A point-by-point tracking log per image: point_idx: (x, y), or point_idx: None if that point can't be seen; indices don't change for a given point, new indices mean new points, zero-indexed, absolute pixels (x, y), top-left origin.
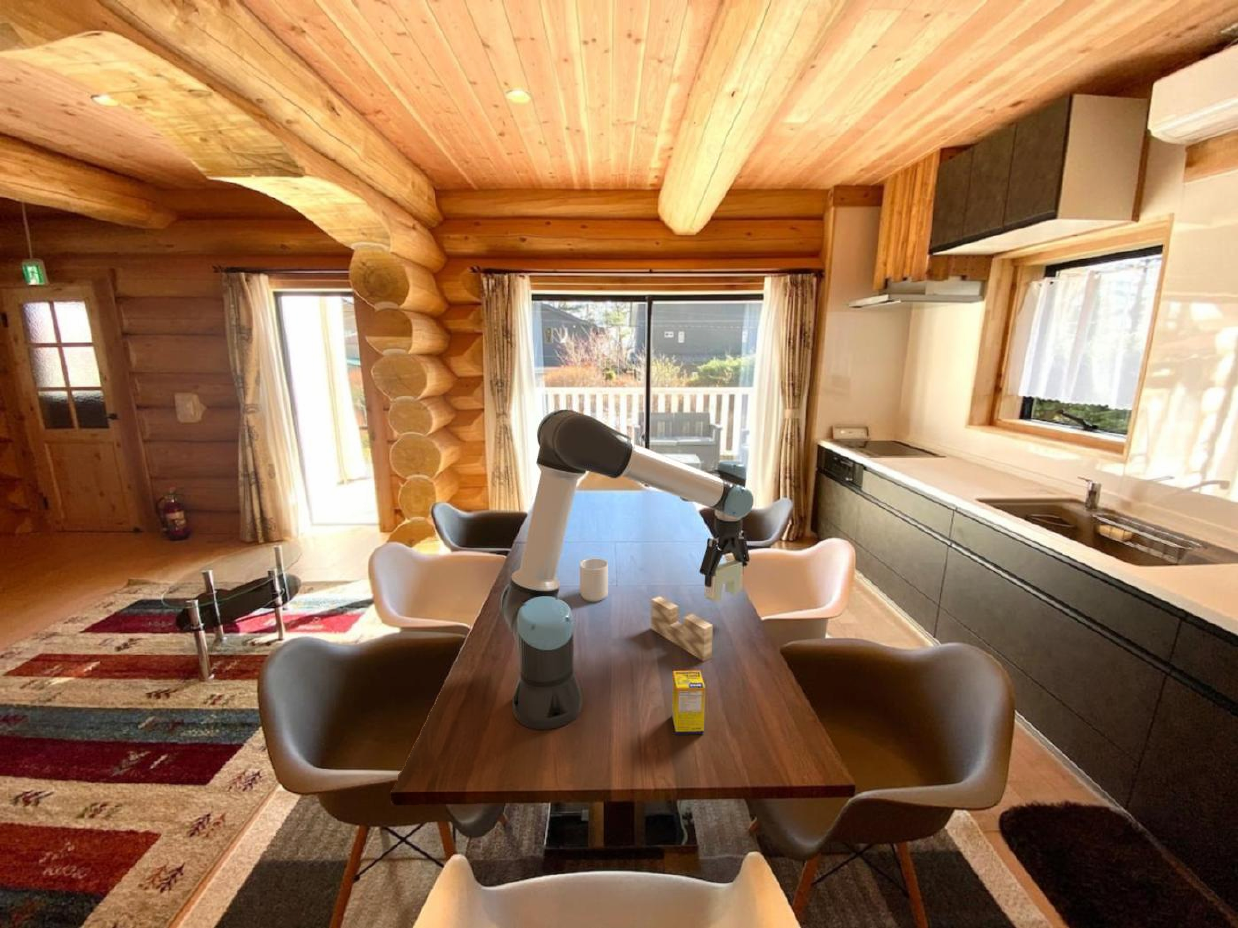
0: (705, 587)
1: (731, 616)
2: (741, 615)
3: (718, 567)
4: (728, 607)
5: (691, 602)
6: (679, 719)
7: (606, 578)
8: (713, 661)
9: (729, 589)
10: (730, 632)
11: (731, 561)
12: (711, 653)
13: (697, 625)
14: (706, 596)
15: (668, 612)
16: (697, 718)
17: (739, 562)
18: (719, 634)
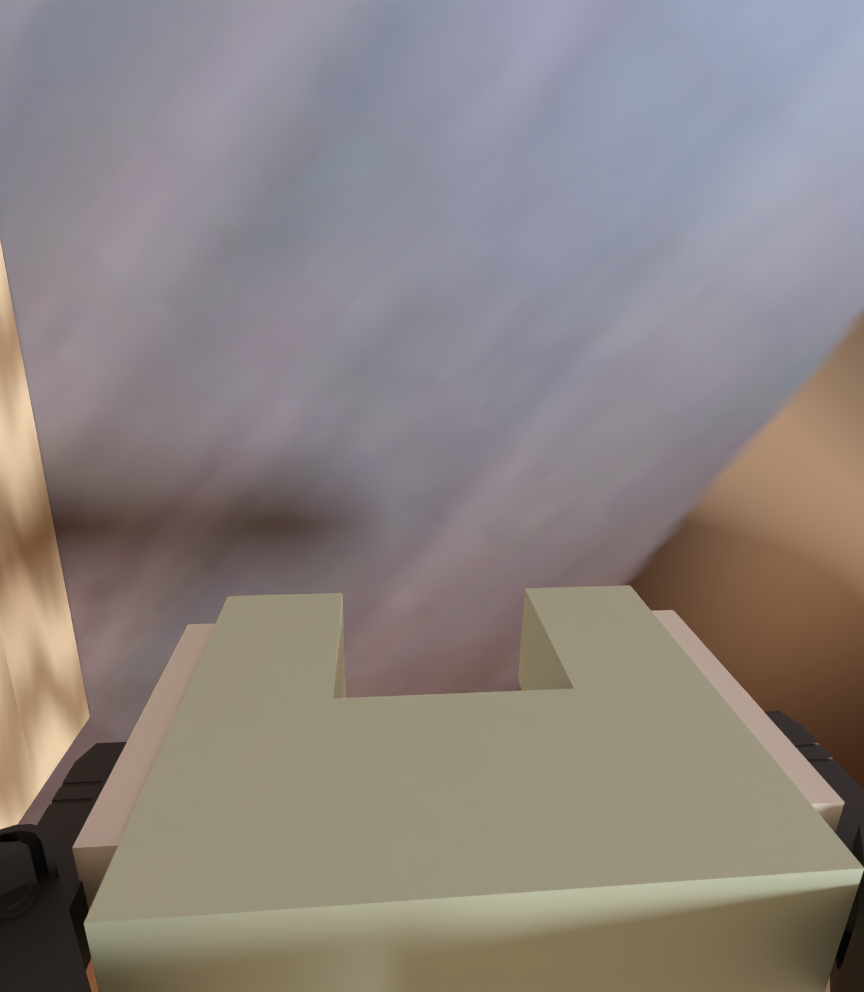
0: (159, 684)
1: (559, 488)
2: (621, 519)
3: (297, 982)
4: (656, 387)
5: (503, 119)
6: None
7: None
8: (73, 745)
9: (529, 659)
10: (386, 613)
11: (734, 909)
12: (77, 733)
13: None
14: (224, 611)
15: None
16: None
17: (793, 986)
18: (310, 590)
